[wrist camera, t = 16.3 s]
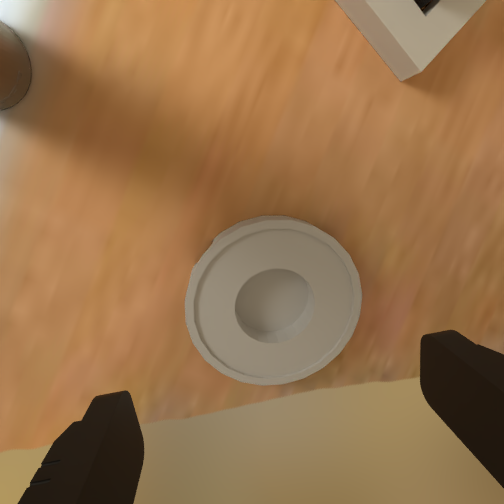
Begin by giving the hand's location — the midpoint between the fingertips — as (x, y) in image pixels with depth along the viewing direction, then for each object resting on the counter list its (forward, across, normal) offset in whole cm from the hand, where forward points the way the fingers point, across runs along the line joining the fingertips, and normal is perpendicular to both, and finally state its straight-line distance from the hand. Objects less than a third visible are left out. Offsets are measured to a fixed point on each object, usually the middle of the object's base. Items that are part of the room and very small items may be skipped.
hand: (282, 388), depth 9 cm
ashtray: (+34, -4, +12) cm, 36 cm away
